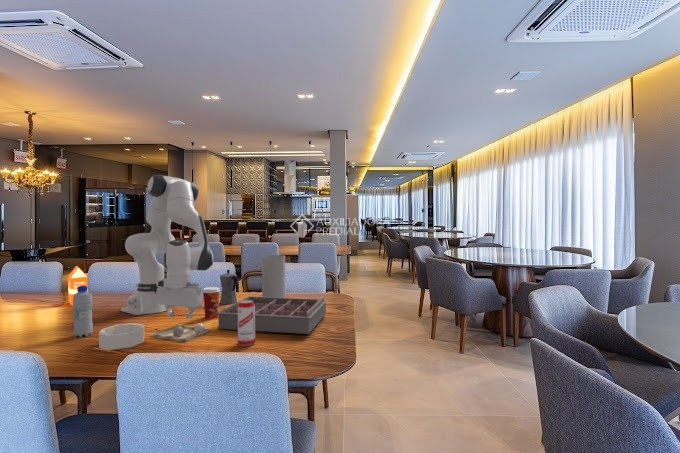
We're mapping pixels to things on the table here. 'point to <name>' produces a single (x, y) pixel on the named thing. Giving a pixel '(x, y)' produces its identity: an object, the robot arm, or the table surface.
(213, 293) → the paper cup
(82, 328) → the bottle
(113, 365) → the table surface
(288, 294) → the table surface
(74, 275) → the orange juice
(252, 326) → the beer can
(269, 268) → the cylinder vase
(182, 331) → the grey ball
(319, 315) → the organizer tray
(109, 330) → the ceramic bowl
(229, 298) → the coffeepot
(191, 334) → the oak tray
